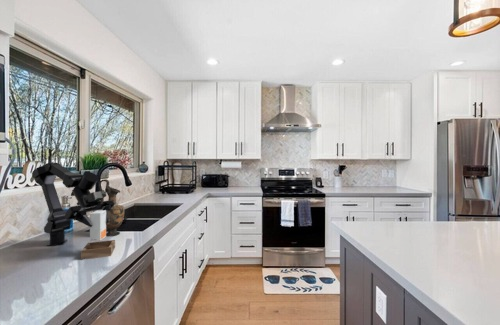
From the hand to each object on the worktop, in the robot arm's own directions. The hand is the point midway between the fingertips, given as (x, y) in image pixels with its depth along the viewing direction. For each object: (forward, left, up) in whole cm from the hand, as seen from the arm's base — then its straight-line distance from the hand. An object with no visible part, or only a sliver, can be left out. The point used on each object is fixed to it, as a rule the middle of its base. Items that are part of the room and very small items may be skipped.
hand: (100, 224), depth 103 cm
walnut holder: (-1, -1, -13) cm, 13 cm away
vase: (-30, 0, -13) cm, 32 cm away
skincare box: (-1, -1, -7) cm, 7 cm away
